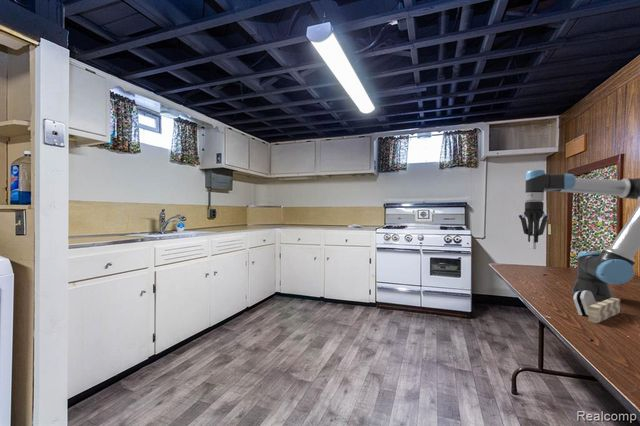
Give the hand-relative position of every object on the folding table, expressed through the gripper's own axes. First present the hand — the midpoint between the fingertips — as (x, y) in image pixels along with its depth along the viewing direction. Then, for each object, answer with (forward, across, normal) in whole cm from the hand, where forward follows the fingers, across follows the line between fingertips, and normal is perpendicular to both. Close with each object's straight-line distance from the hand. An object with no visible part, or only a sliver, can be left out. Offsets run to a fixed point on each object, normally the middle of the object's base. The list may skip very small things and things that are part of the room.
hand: (532, 248), depth 148 cm
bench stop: (+24, +28, -3) cm, 37 cm away
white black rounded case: (+25, +22, -2) cm, 33 cm away
